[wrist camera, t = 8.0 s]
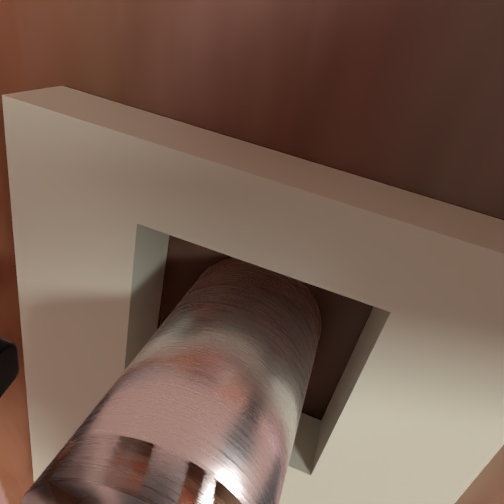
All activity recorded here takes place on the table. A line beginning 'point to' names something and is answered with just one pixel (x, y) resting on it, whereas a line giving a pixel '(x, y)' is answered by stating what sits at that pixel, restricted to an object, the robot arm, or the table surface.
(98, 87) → the table surface
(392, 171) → the table surface
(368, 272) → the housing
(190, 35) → the table surface
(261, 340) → the loose cylinder
